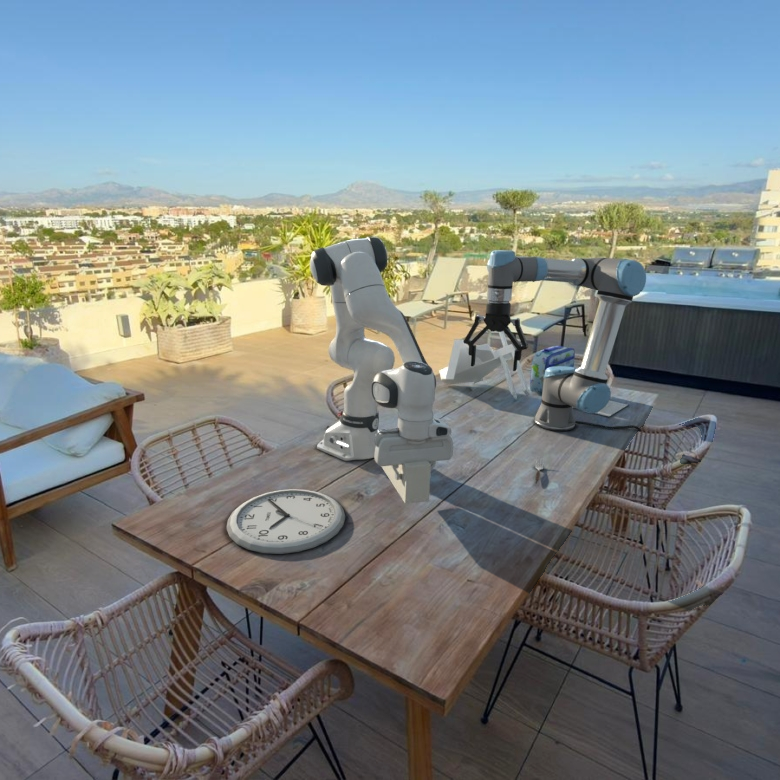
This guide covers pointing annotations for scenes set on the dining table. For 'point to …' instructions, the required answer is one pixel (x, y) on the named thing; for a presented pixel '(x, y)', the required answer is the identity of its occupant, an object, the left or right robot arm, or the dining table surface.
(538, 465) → the fork
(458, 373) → the white plastic object
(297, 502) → the wall clock
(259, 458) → the dining table surface
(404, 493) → the box
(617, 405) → the invitation card
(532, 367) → the lunch box
